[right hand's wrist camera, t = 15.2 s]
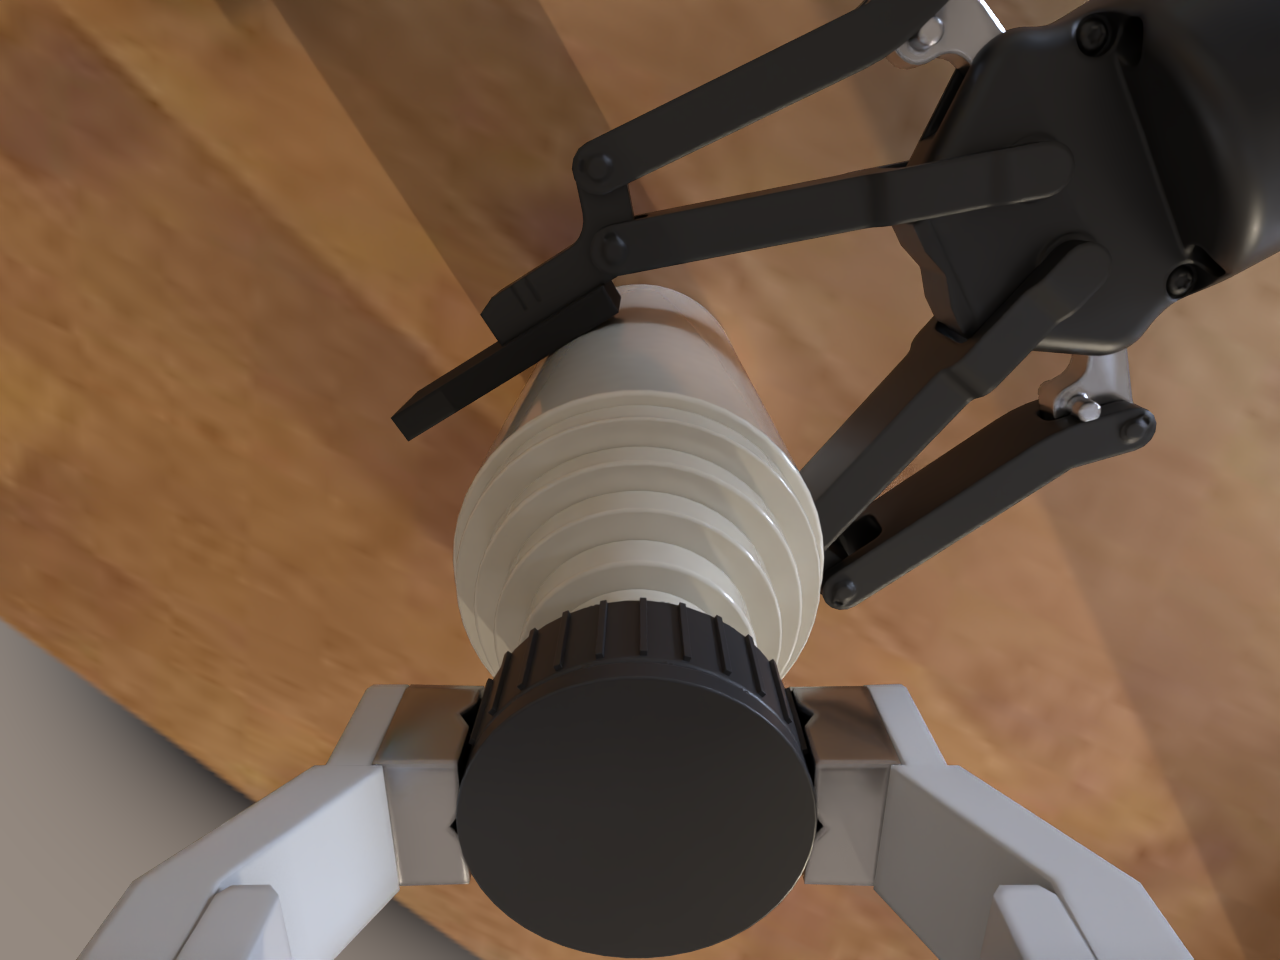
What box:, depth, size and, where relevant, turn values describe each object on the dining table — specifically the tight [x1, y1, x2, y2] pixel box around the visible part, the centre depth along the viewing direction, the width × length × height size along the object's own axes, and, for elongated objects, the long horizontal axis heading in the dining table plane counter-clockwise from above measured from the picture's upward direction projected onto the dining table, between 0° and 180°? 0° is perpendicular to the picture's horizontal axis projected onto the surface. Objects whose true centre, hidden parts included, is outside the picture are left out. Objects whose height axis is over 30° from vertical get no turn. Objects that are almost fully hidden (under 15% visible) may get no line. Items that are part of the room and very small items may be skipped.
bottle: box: [453, 284, 824, 680], centre depth 19 cm, size 7×7×20 cm
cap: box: [456, 597, 818, 958], centre depth 10 cm, size 4×4×2 cm
